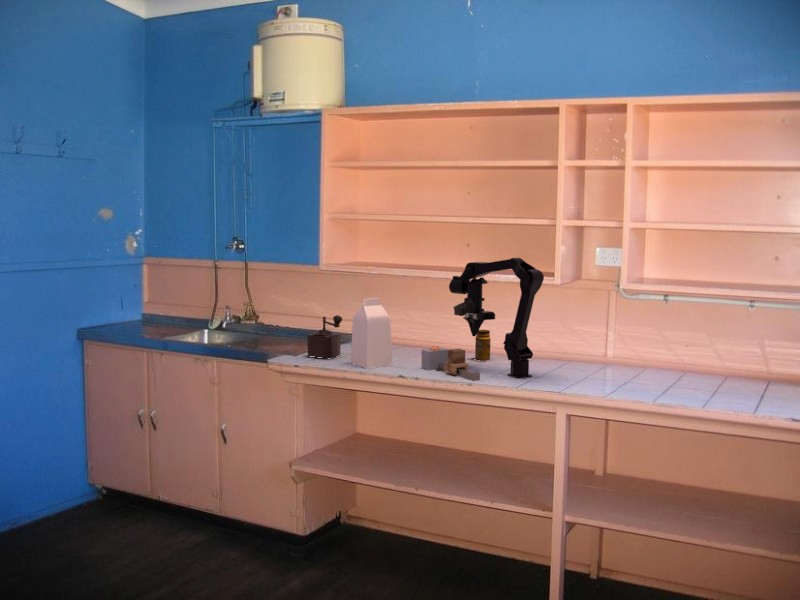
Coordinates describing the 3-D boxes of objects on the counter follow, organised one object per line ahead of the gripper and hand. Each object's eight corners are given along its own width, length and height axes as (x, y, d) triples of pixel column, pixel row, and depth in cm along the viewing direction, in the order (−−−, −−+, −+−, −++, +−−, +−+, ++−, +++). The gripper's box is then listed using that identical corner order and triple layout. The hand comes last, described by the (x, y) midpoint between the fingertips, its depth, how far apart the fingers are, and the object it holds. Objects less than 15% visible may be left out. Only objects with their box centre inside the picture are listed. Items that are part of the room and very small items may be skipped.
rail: (483, 379, 286) (483, 372, 286) (469, 381, 283) (469, 374, 283) (448, 369, 305) (448, 362, 305) (435, 370, 302) (435, 363, 302)
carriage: (467, 373, 294) (468, 350, 293) (454, 374, 291) (454, 351, 290) (458, 370, 299) (458, 348, 298) (444, 372, 296) (445, 349, 295)
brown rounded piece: (440, 354, 306) (440, 346, 306) (434, 355, 305) (434, 347, 304) (436, 353, 309) (436, 345, 308) (429, 354, 307) (429, 346, 307)
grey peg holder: (448, 367, 307) (448, 349, 307) (428, 369, 303) (428, 351, 302) (441, 365, 312) (441, 347, 311) (421, 367, 307) (421, 349, 306)
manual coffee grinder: (305, 357, 327) (305, 314, 325) (319, 353, 337) (319, 311, 335) (339, 360, 321) (339, 316, 319) (352, 356, 331) (352, 313, 329)
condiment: (494, 360, 325) (495, 330, 323) (478, 362, 320) (478, 332, 319) (483, 357, 331) (483, 328, 329) (466, 359, 326) (467, 330, 325)
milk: (366, 368, 305) (367, 300, 302) (350, 364, 314) (350, 297, 311) (392, 365, 312) (393, 298, 309) (375, 361, 321) (376, 296, 318)
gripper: (443, 294, 307) (442, 334, 309) (472, 298, 291) (471, 341, 293) (466, 292, 313) (466, 332, 314) (496, 297, 297) (495, 338, 299)
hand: (474, 336), depth 305 cm, fingers closed
